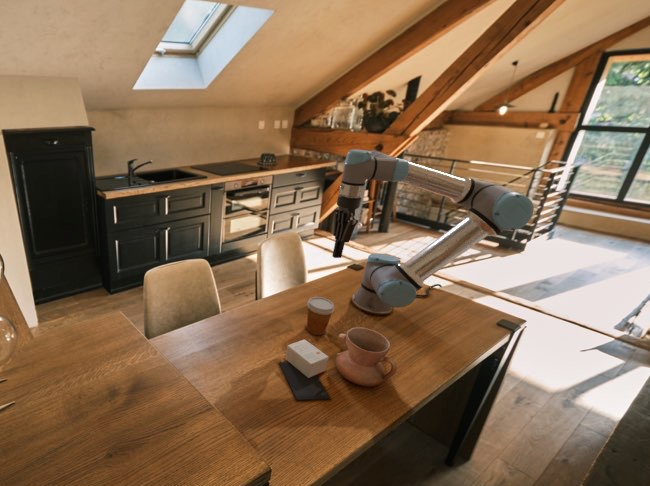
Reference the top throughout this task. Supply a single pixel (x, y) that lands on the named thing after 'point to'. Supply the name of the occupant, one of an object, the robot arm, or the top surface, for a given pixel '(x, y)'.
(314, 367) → the small box
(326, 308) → the disposable coffee cup
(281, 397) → the top surface
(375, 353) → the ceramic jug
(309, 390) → the mat
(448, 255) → the robot arm
